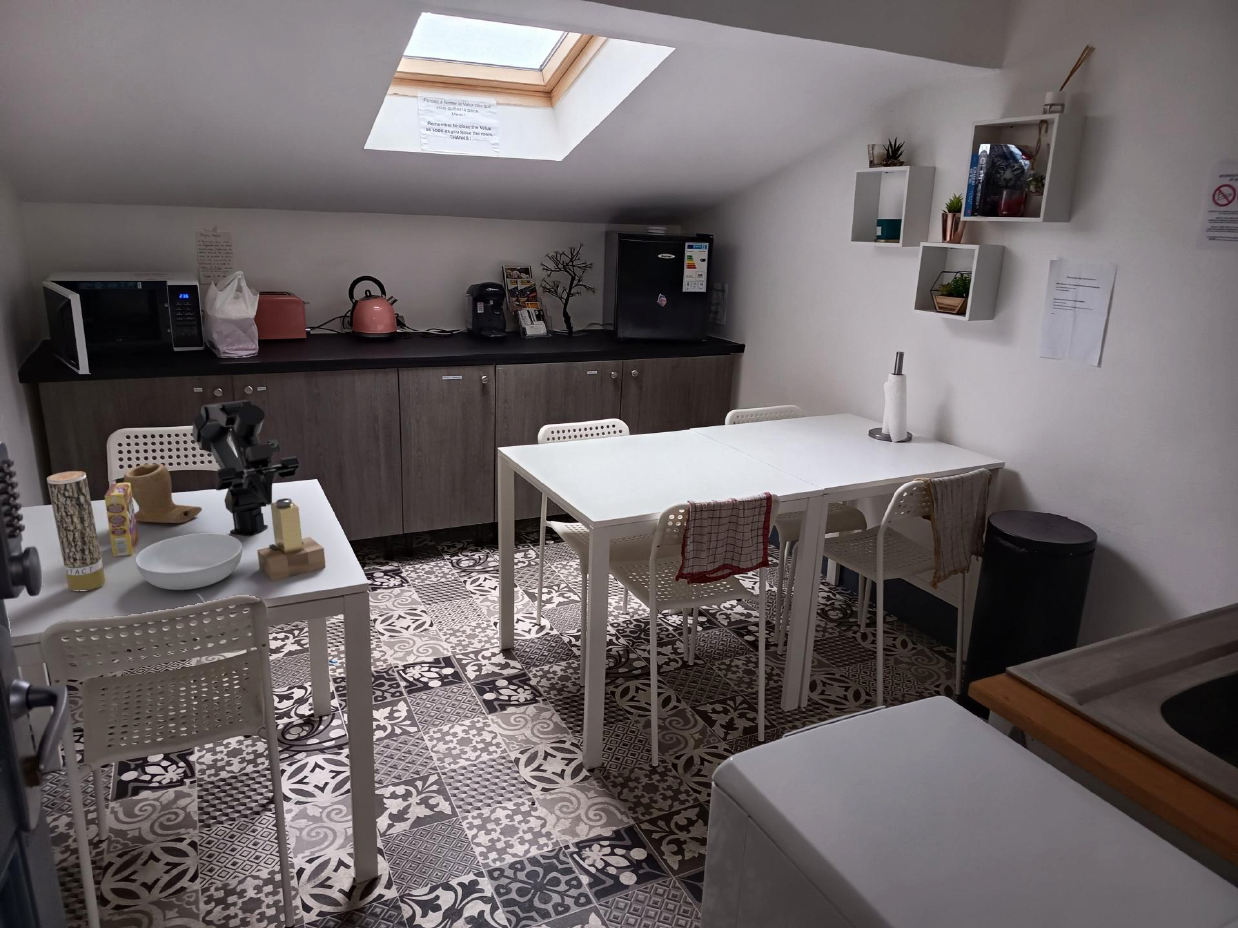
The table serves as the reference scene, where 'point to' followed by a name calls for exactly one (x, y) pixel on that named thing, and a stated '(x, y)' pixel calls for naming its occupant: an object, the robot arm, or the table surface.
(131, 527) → the candy box
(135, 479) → the tan ankle boot
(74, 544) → the paper tube
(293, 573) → the walnut housing
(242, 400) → the robot arm
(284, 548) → the brass post
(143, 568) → the serving bowl
